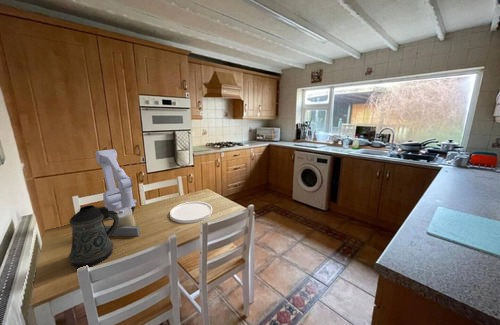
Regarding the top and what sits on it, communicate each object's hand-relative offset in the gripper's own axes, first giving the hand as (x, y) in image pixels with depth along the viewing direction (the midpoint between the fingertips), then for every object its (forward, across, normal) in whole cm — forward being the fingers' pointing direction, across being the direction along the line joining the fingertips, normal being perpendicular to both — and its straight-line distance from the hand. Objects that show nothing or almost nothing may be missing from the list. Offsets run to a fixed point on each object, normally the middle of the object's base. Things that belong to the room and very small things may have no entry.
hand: (130, 218), depth 122 cm
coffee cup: (+3, -3, 0) cm, 4 cm away
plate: (+5, +16, -32) cm, 37 cm away
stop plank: (+4, -10, 0) cm, 11 cm away
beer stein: (+4, -26, +3) cm, 26 cm away
